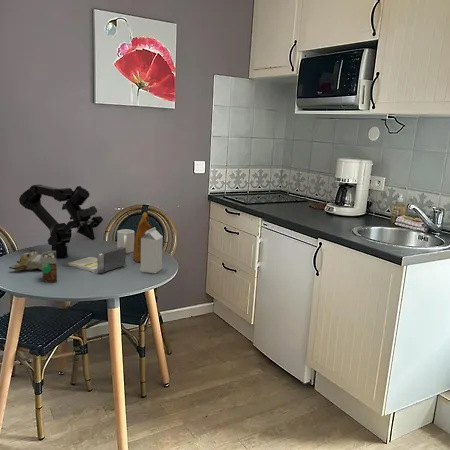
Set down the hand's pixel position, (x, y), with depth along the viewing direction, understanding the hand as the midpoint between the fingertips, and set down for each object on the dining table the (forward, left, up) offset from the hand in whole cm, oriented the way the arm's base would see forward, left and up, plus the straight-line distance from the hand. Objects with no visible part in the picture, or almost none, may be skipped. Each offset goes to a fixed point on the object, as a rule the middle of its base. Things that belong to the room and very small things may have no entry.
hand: (93, 239), depth 201 cm
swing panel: (+8, -6, -11) cm, 15 cm away
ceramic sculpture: (-25, -5, -12) cm, 28 cm away
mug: (+13, +22, -12) cm, 29 cm away
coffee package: (+22, +10, -12) cm, 27 cm away
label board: (-1, 0, -12) cm, 12 cm away
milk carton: (+25, -8, -12) cm, 29 cm away
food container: (-16, -18, -12) cm, 27 cm away
